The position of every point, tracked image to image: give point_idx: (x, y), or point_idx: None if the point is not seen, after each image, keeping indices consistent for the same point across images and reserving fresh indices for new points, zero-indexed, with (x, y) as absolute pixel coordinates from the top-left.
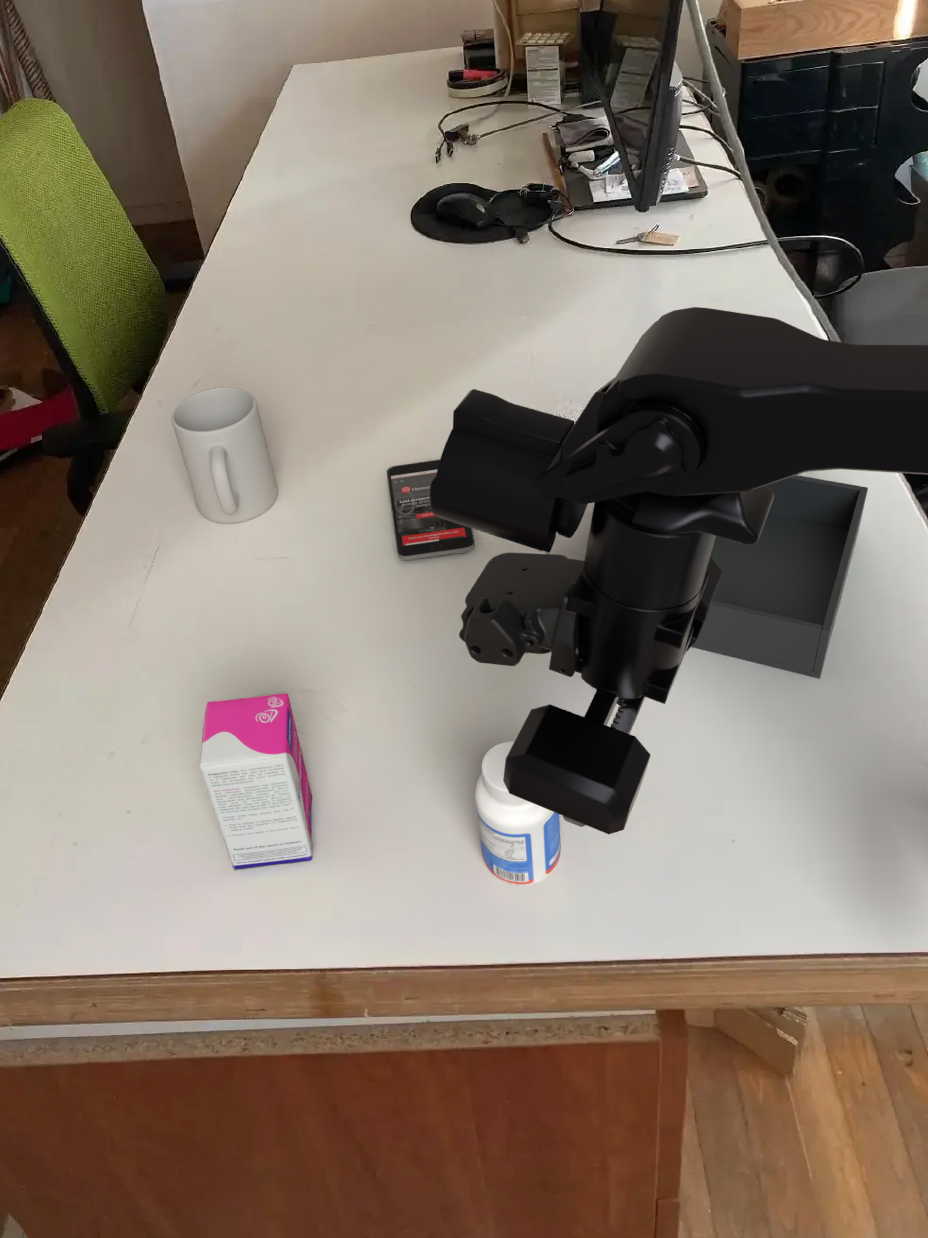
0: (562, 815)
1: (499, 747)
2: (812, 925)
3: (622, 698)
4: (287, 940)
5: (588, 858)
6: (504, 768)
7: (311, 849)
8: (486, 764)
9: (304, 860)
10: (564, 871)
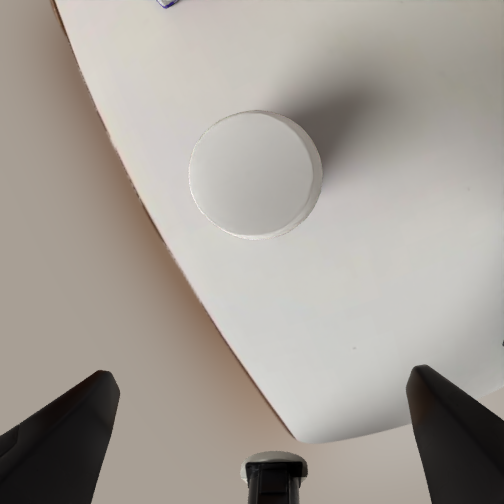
0: (86, 378)
1: (279, 130)
2: (297, 406)
3: (419, 388)
4: (96, 46)
5: (288, 241)
6: (236, 161)
7: (169, 2)
8: (228, 126)
9: (161, 5)
10: None
